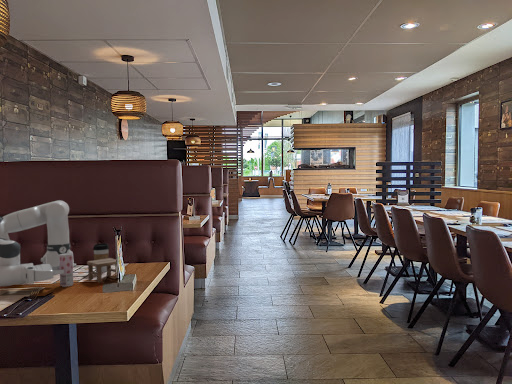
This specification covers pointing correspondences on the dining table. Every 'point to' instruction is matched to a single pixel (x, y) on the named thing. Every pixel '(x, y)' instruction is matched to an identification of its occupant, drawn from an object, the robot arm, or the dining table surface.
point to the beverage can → (66, 269)
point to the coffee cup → (101, 253)
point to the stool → (99, 264)
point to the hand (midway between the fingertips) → (62, 269)
